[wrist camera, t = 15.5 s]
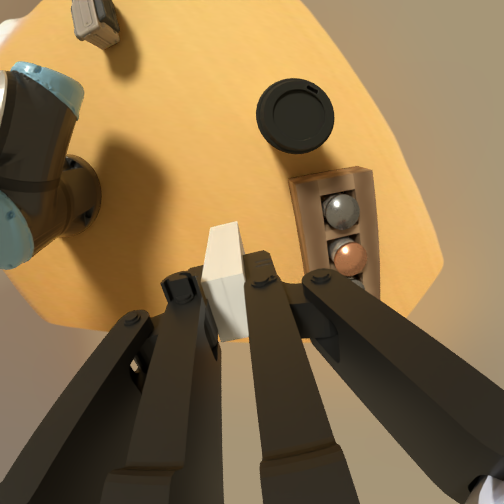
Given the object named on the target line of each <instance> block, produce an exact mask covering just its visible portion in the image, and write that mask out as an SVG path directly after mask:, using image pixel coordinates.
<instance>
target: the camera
mask: <svg viewBox="0 0 504 504" xmlns="http://www.w3.org/2000/svg"><path fill="white" fill-rule="evenodd" d="M71 13H72V18H73V23H74V28H75V29H74V33H75V35H76V37H77V38H78V39H79V40H80V41H84V40H86V41H88V42H90V43H92V44H93V45H95V46H97V47H99V48H101V49H106V48H108V47H110V46H112V45H114V44H116V43H118V42H119V41H120V38H119V34H118V33H119V31H120V28H119V24H118V21H117V17H116V12H115V9H114V5H113V2H112V0H72V6H71Z"/></svg>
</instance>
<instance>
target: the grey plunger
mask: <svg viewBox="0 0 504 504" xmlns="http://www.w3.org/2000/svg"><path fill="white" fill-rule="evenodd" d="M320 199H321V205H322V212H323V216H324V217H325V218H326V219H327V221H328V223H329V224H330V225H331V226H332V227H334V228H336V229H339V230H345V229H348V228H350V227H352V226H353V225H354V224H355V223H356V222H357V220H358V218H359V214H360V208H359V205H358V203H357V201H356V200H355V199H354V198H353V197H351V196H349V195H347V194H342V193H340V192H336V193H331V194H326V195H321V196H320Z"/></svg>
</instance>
